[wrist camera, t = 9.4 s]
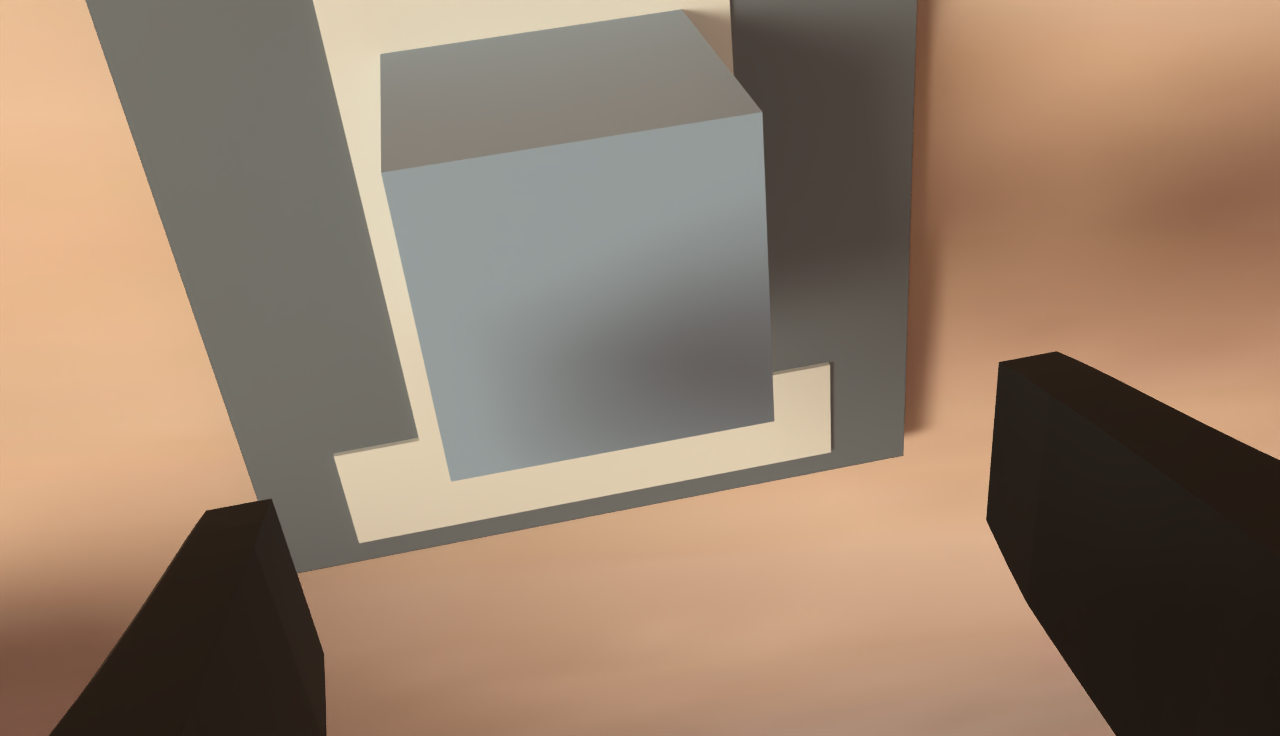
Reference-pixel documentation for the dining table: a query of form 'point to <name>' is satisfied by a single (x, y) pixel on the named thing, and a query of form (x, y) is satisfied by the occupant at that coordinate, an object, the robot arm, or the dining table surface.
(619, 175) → the slate cube
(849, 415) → the letter card
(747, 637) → the dining table surface
